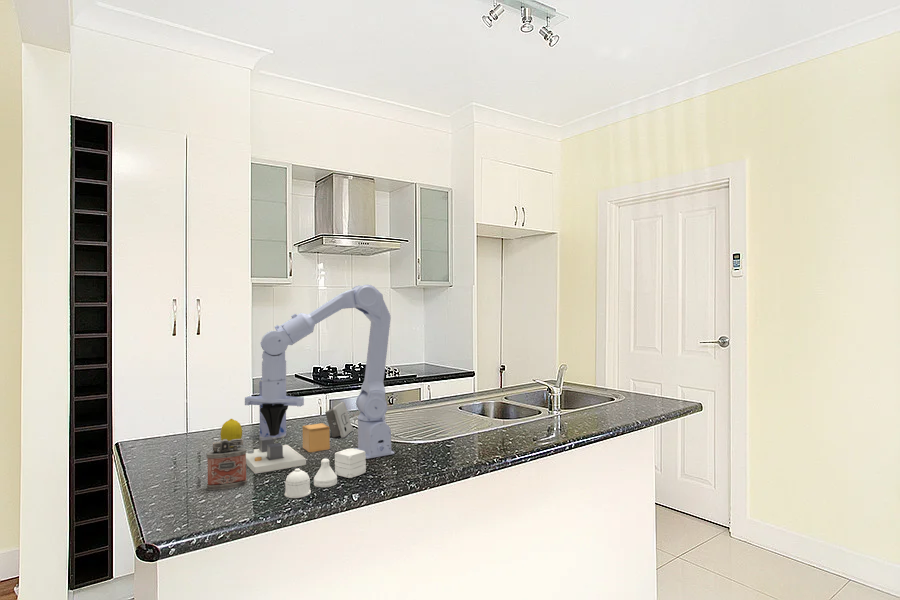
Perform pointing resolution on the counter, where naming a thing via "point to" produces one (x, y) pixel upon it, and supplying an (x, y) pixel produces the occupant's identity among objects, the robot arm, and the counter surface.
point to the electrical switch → (339, 420)
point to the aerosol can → (263, 425)
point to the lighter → (226, 465)
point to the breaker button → (274, 451)
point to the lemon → (231, 430)
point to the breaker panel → (262, 463)
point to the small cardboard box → (316, 437)
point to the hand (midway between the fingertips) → (274, 434)
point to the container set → (327, 473)
